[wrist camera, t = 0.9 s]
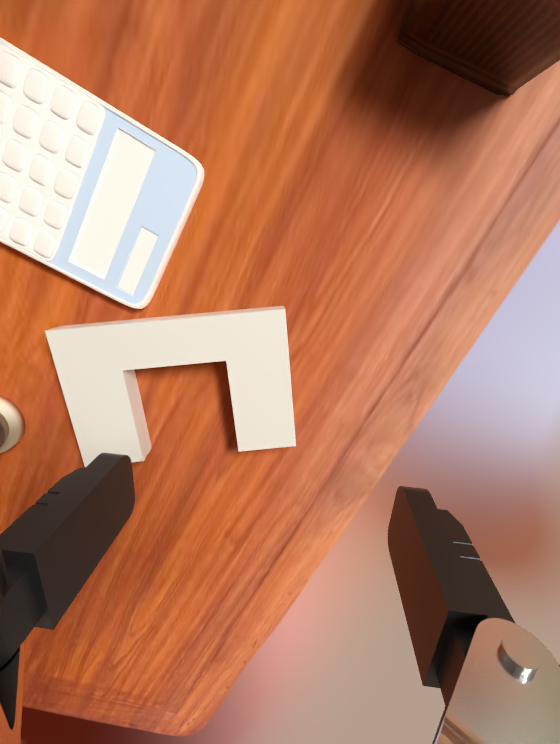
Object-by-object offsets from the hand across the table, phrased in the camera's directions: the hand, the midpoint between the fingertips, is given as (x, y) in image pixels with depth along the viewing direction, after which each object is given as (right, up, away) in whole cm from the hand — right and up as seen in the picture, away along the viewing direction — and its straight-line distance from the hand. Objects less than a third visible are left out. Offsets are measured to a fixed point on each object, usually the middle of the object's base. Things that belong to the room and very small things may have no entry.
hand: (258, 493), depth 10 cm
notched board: (-8, +3, +23) cm, 24 cm away
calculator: (-17, +19, +18) cm, 31 cm away
